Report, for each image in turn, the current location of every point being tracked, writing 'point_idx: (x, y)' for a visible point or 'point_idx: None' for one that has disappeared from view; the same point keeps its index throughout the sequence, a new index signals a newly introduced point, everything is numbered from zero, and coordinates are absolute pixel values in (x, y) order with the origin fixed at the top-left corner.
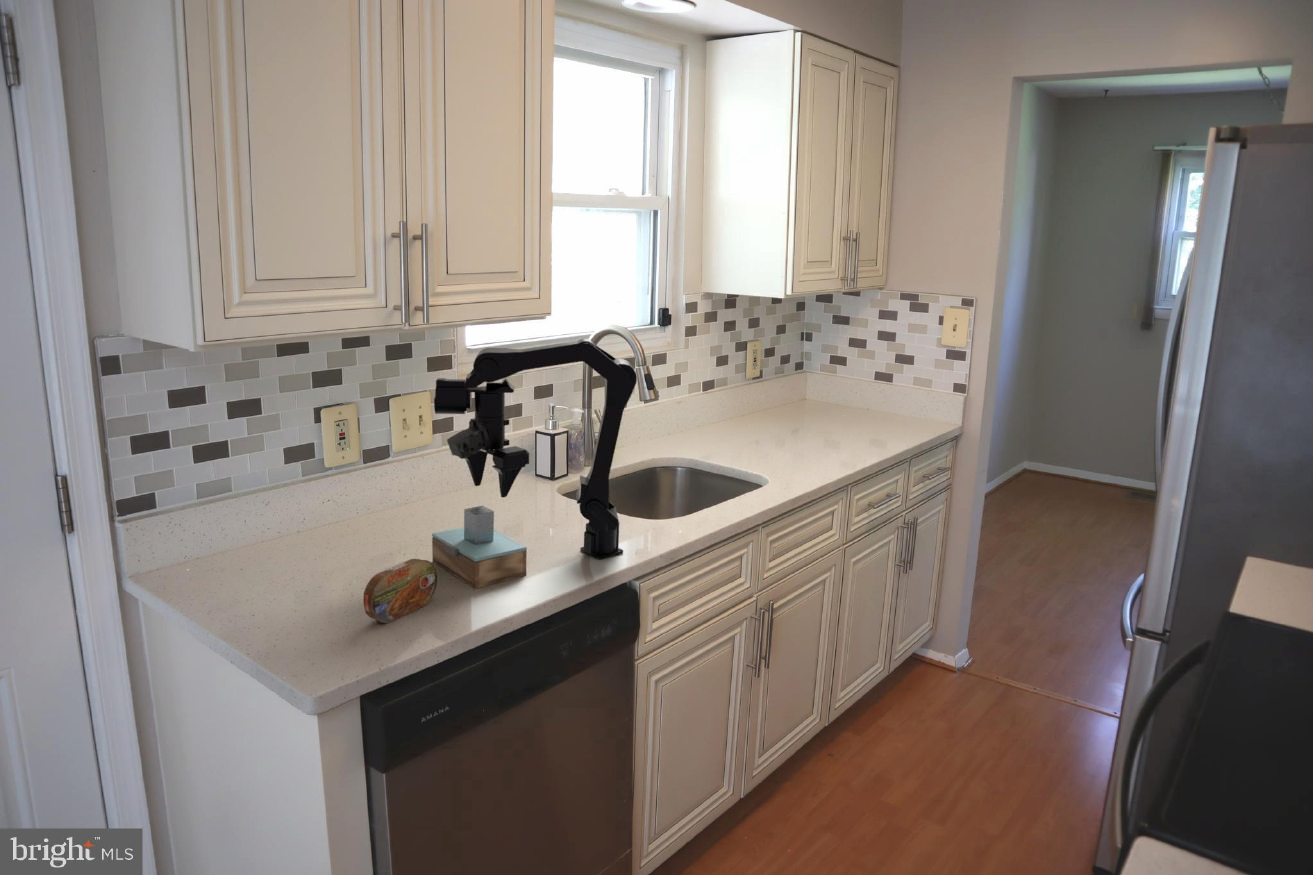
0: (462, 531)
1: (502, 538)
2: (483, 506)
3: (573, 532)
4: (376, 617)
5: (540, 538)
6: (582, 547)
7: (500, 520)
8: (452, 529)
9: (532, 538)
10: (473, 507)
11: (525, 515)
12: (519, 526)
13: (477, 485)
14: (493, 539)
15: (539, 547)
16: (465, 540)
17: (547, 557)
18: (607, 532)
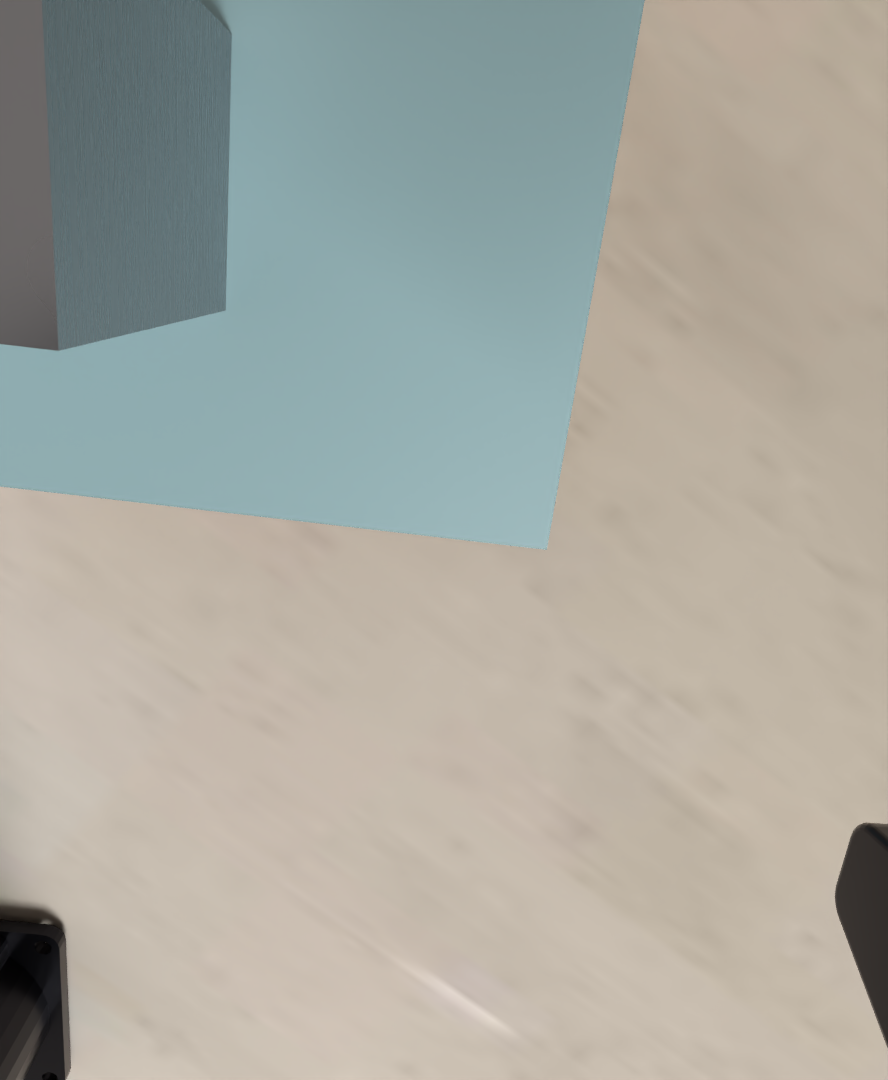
0: (470, 205)
1: (12, 418)
2: (5, 331)
3: (352, 1072)
4: None
5: (407, 889)
6: (50, 950)
7: None
8: (609, 151)
9: (443, 856)
10: (35, 104)
11: (803, 1062)
12: (681, 928)
13: (853, 855)
14: None
15: (276, 790)
16: None
17: (86, 716)
18: None
